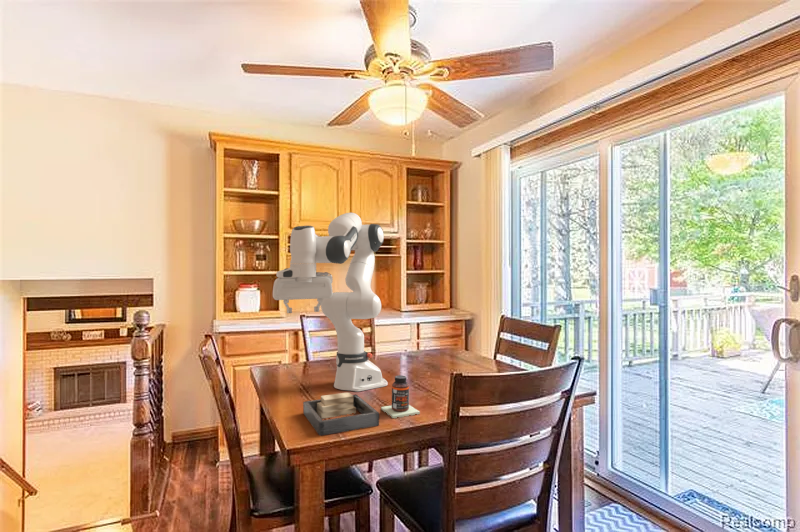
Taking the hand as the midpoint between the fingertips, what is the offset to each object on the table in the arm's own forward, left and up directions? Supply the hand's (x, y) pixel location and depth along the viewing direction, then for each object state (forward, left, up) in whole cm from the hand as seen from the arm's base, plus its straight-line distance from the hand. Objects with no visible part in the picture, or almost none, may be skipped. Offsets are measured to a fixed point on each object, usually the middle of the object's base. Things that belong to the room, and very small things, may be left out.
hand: (303, 312), depth 147 cm
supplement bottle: (-30, +15, -34) cm, 47 cm away
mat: (-30, +15, -34) cm, 48 cm away
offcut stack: (-10, +7, -34) cm, 36 cm away
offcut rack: (-9, +13, -34) cm, 38 cm away
